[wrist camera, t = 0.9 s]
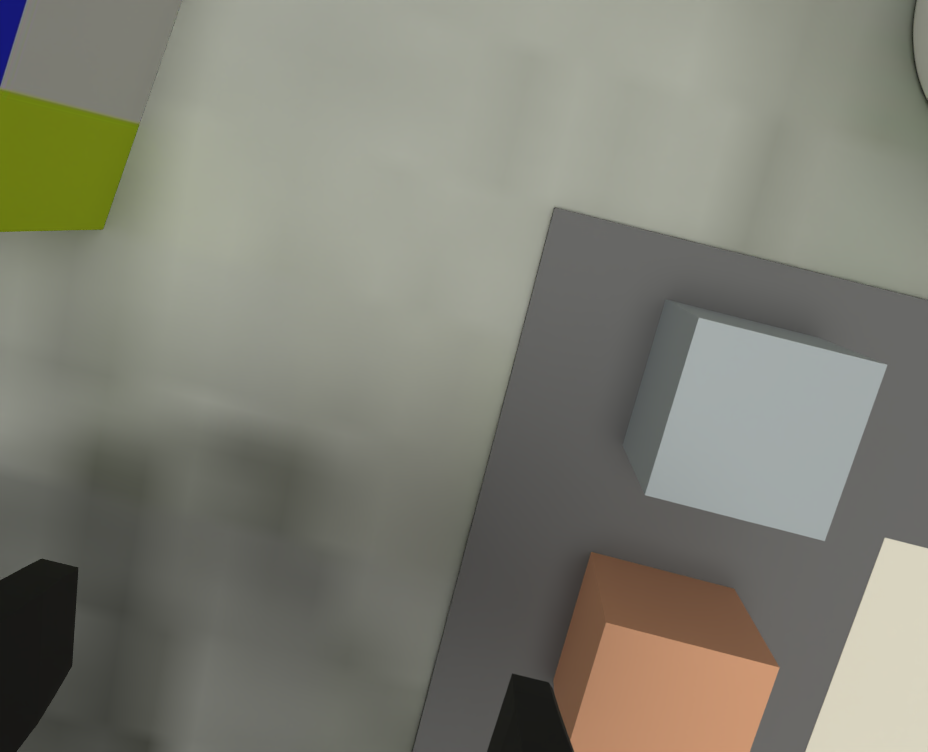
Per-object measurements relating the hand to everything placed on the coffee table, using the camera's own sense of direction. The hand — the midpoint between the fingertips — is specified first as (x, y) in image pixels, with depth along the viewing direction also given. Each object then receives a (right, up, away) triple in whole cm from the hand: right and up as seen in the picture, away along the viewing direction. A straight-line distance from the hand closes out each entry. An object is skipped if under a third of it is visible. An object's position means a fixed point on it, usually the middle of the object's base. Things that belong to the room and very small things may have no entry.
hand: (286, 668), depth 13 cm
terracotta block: (+8, -3, +12) cm, 15 cm away
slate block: (+10, +4, +11) cm, 15 cm away
